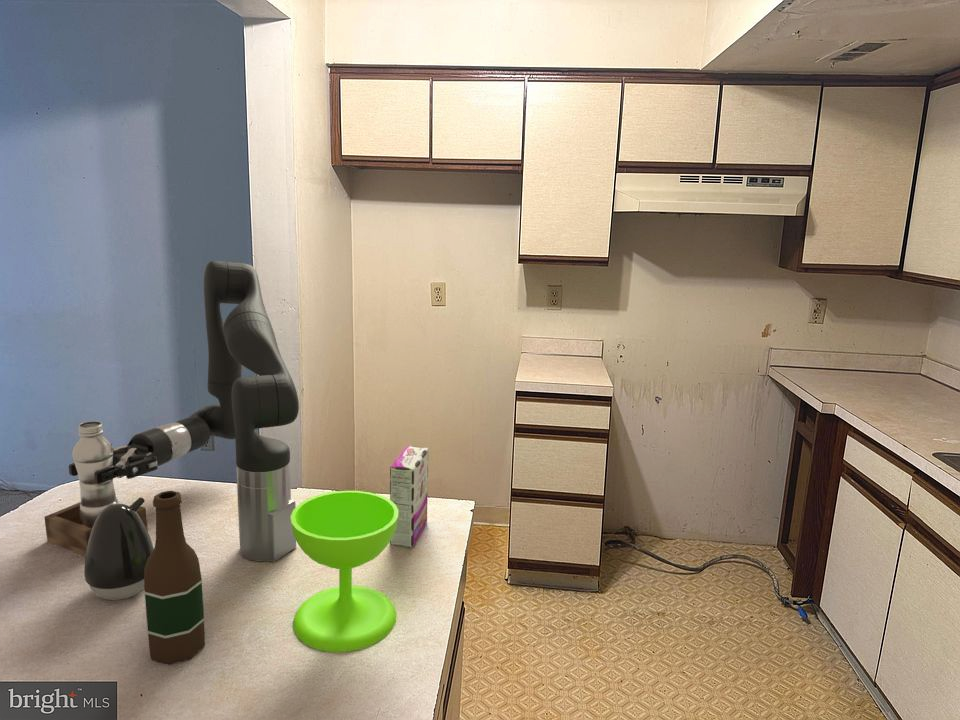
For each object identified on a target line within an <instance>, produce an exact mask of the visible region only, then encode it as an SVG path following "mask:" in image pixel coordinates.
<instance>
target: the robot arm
mask: <svg viewBox="0 0 960 720" xmlns="http://www.w3.org/2000/svg"><path fill="white" fill-rule="evenodd" d="M203 276H204V277H203V299H204V300H203V301H204V313H205V314H204V316H205V328H206V338H207V346H208V347H207V349H208V350H207V351H208V363H207V365H208V367H207V392H208V393H209V395H210V396H213V397H214V398H216V399H217V400H218V403H219V404H212V405H211V404H209V405H207V406H204V407H201V408H200V409H198V410H197V411H195V412H193V413H192V414H191V415H189V417H187V418H184V419H180V420H177V421H175V422H170V423H165V424H162V425H160V426H156V427H154V428H151V429H147V430H145V431H141V432H139V433H137V434H134V435H133V436H132V437H131V439H130V440H129V442H128V444H126V445H125V444H123V445H119V446H117V447H112V448H113V466H110V467H108V468H105V469H102V470H100V471H97V472H95V473H94V480H95V483H97V484H101V483H104V482H106V481H109V480H111V479H113V480H114V479H121V478H124V477H125V478H126V479H129V480H130V479H134V478H136V477H139V476H142V475H145V474H148V473H152V472H154V471H156V470H158V467H160V466H162V465H164V464H167V463H169V462H172V461H175V460H177V459H180V458H181V457H182V456H184V455H185V454H188V453H190V452H193V451H195V450H196V451H197V449H200V448H202V447H204V446H205V445H206V444H208V443H209V441H210V439H211V437H212V436H213V437H217V438H222V439H226V440H235V461H236V462H235V463H236V466H235V467H236V489H237V490H236V491H237V513H238V514H237V517H238V533H239V534H238V535H239V552H240V555H241V556H242V557H243V558H245V560H250V561H255V562H266V561H270V562H277V561H278V560H280V559H281V558H283V557H284V556H285V555H286V554H288V553H290V552H291V551H293V550H294V549H296V548H297V541H296V539H295V537H294V534H293V529H292V523H291V514H292V512H293V510H294V509H295V508H296V507H297V505H296V501H295V500H294V499H292V494H291V493H292V491H291V490H292V489H291V488H292V487H291V451H290V450H291V449H290V447H289V446H288V444H287V443H286V442H284V441H282V440H279V439H275V438H270V437H266V436H263V435H260V434H259V433H257V432H255V430H256V429H257V430H258V429H265V428H266V429H268V428H274V427H282V426H283V427H284V426H286V425H290V424H292V423H294V421H296V420H297V418H298V415H299V410H300V403H299V396H298V392H297V388H296V385H295V383H294V381H293V378H292V377H291V373H290V372H289V370H288V368H287V366H286V364H285V361H284V360H283V357H282V355H281V353H280V350H279V346H278V343H277V339H276V335H275V332H274V328H273V326H272V323H271V321H270V318H269V316H268V313H267V311H266V307H265V304H264V301H263V296H262V295H263V294H262V291H261V290H262V289H261V285H260V280H259V276H258V273H257V270H256V269H255V267H254V266H253V265H251V264H248V263H243V262H233V261H224V260H223V261H221V260H211V261H209V262H208V263H207V264H206V266H205V269H204V275H203ZM221 304H228V305H236V306H235V307H234V308H233V309H232V310H231V311H230V312H229V313H228V315H227V317H226V318H225V320H224V321H223V318H222V313H221ZM242 366H243V367H244V368H246V369H248V370H249V371H251V372H252V373H254V374H256V375H253V376H242V372H243V371H242ZM110 444H111V445H112V446H113V444H112V443H110ZM135 470H136V471H135ZM68 473H69V475H70V476H73V477H75V476H78V473H77V470H76V466H75V463H74V462H73V463H70V464H69V465H68Z"/></svg>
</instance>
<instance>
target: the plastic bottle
mask: <svg viewBox="0 0 960 720" xmlns="http://www.w3.org/2000/svg"><path fill="white" fill-rule="evenodd" d="M103 433H104V429H103V423H102V422H101V421H98V420H91V421H85V422H81V423H80V424H78V437H80V438H79V440H78V441H77V442H76V444H75V445H74V446H73V450H72V452H71V453H72V460H73V463H75V466H76V470H77V473H78V475H77V477H78V481H79V483H78V484H79V488H80V489H79V490H80V491H79V492H80V502H81V504H80V518H81V521H82V523H83V524H84V525H85V526H86V527H89V528H92V527H93V525H94V522H95V520H96V519H97V517H98V515H99V514H100V512H101V511H102V510H103V509H105V508H106V507H108V506H110V505H113V504H120V503H119V500H118V498H117V493H116V490H115V483H114V478H113V479H111V480H109V481H106V482H104V483H101V484H97V483H95V480H94V473H95V472H97V471H100V470H102V469H105V468H108V467H110V466H113V448H114V447H113V444H112V443H110V441H109V440H108V439H107V438H106V437H105V436H103ZM111 444H112V445H111Z"/></svg>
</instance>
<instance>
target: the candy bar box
mask: <svg viewBox="0 0 960 720" xmlns="http://www.w3.org/2000/svg"><path fill="white" fill-rule="evenodd" d="M428 481H429V447H420V446H413V445H406V446H405V447H404V448H403V450H402V451H401V453H400V454H399V455H398V456H397V457H396V459H395V460H394V461H393V462H392V464H391V465H390V467H389V499H390V500H391V501H392V502H393V503H394V504H396V506H397V508H398V510H399V512H398V521H397V527H396V531H395V533H394V535H393V537H392V539H391V541H390V542H389V545H391V546H396V547H406V548H414V547H415V544H416V543H417V541H418V539H419V537H420V535H421V533H422V531H423V530H424V527H425V526H426V524H427V522H428V490H429V489H428V488H429V487H428V484H429V483H428Z"/></svg>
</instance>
